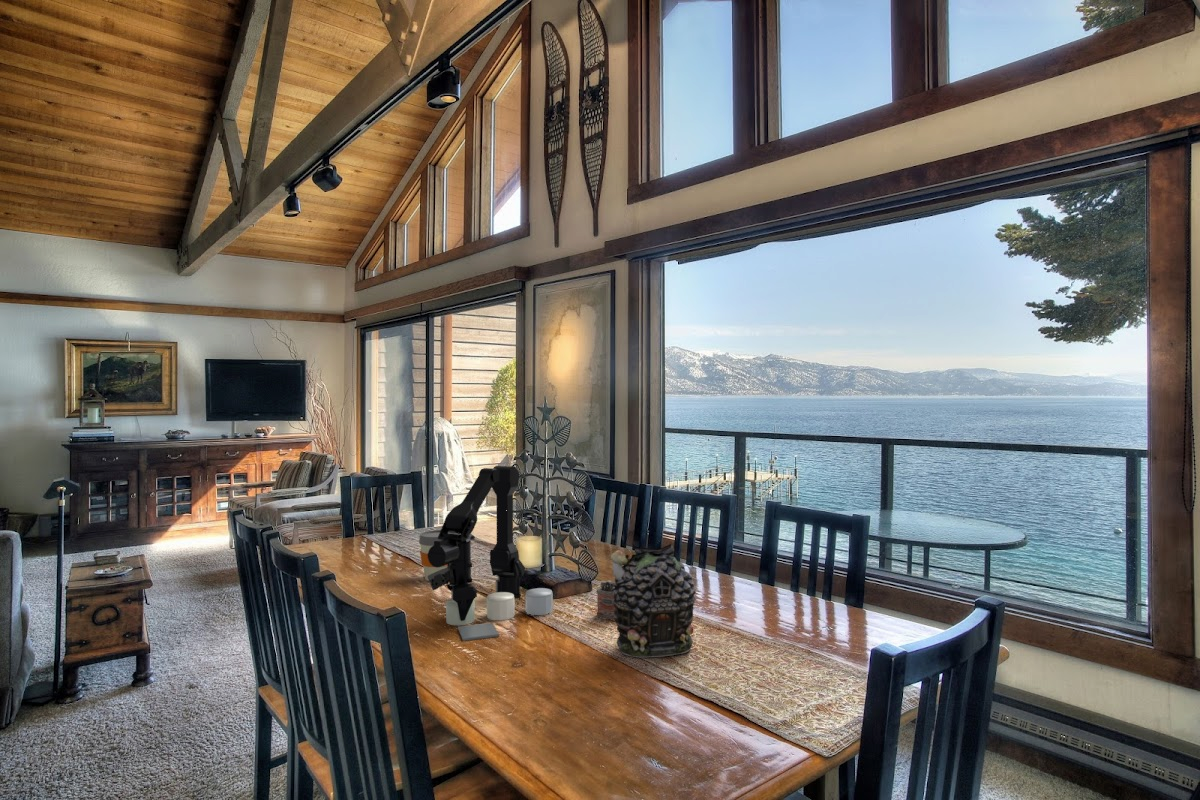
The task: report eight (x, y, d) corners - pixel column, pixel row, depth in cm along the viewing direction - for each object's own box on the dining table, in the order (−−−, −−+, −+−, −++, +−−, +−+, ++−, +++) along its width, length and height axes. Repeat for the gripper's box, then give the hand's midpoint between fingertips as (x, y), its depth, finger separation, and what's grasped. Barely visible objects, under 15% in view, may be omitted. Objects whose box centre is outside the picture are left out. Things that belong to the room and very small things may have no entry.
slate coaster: (492, 624, 176) (492, 622, 176) (498, 636, 168) (498, 634, 168) (458, 629, 173) (458, 626, 173) (463, 641, 164) (462, 638, 164)
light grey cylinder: (548, 605, 192) (548, 587, 192) (555, 613, 185) (555, 594, 185) (523, 608, 189) (523, 589, 189) (529, 616, 182) (529, 597, 182)
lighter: (594, 617, 182) (594, 580, 182) (600, 613, 185) (600, 577, 185) (620, 621, 178) (620, 584, 178) (626, 617, 181) (626, 581, 181)
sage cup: (472, 614, 184) (472, 595, 184) (476, 623, 177) (476, 602, 177) (445, 618, 182) (444, 598, 182) (448, 626, 175) (448, 606, 175)
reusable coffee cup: (416, 575, 226) (416, 531, 226) (453, 571, 231) (452, 528, 231) (423, 585, 214) (422, 538, 214) (461, 580, 220) (461, 535, 219)
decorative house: (622, 666, 149) (621, 555, 148) (604, 642, 163) (603, 541, 163) (707, 656, 154) (707, 549, 154) (682, 633, 169) (682, 536, 168)
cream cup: (511, 610, 188) (510, 591, 188) (516, 618, 181) (516, 598, 181) (485, 613, 186) (484, 593, 186) (489, 621, 179) (489, 601, 179)
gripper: (426, 553, 186) (426, 609, 186) (433, 569, 168) (433, 631, 168) (466, 550, 189) (466, 604, 189) (477, 565, 172) (477, 625, 172)
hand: (460, 616), depth 180 cm, fingers closed on sage cup, 7 cm apart
